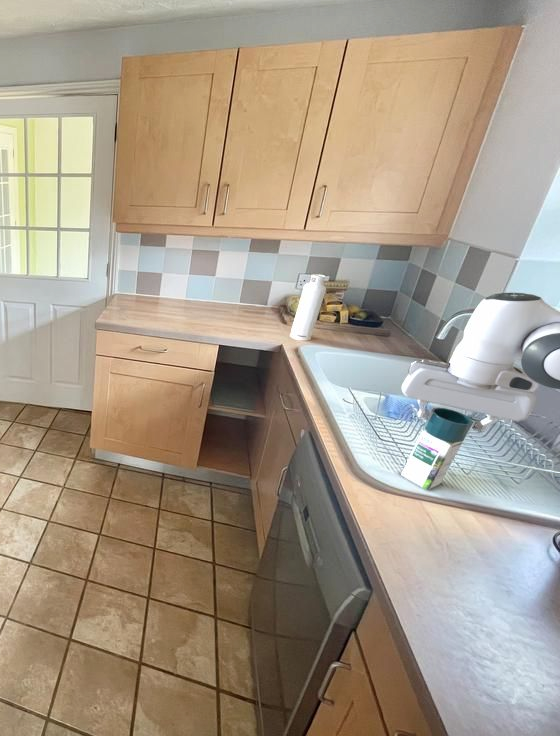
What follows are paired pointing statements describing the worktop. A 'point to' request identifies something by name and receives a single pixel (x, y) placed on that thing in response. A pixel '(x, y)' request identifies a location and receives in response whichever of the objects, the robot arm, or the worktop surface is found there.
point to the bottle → (308, 308)
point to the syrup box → (430, 460)
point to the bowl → (448, 425)
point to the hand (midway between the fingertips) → (448, 423)
